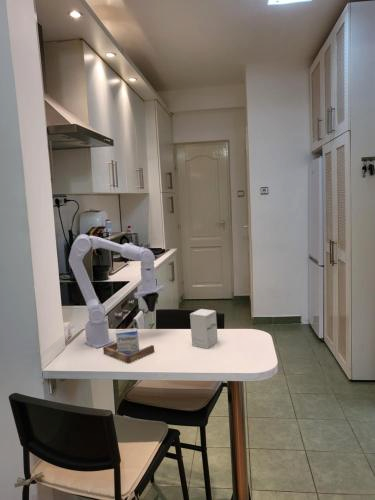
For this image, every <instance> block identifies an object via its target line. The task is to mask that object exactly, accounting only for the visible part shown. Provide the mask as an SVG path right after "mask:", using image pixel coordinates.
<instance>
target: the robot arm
mask: <svg viewBox="0 0 375 500" xmlns="http://www.w3.org/2000/svg"><path fill="white" fill-rule="evenodd" d="M90 249H92V250H97V249H105V250H108V251H113V252H116V253H120V254H119V255H120V256H121V257H122V258H125V259H129V260H131V261H135V262H140V277H141V279H140V280H141V287H142V288H141V290H139V291H135V292H133V297H134V299H139V298H142V299H143V301H144V303H145V305H146V307H147V310H148V312H151V313H152V312H155V307H156V303H157V300H158V297H160V296H159V293H158V292H160V291H161V292H162V291H163V292H164V291H165V285H157V279H156V267H155V259H156V256H155V254H154V252H153V250H151V249H149V248H147V247H144V246H137V245H134V244H133V242H131V241H130V242H129V243H127V242H125V243H122V244H120V243H117V242H114V241H112V240H108V239H106V238H102V237H99V236H95V235H88V234H86V233H84V234H83V233H82V234H79V235H78V236H77V237H76V238H75V240H74V241H73V243H72V245H71V249H70V253H69V256H68V263H69V265H70V268H71V269H72V272H73V275H74V277H75V280H76V282H77V285H78V287H79V289H80V292H81V294H82V296H83V297H82V298H83V299H84V301H85V304H86V307H87V310H88V321H87V322H86V324H85V326H84V328H85V329H84V330H85V338H86V341H84V344H85V345H88V346H92V347H94V348H96V349H98V348H99V349H100V348H101V347H102V348H103V347H105V346H108V345H111V344H113V343H115V341H114V340H113V339H110V334H109V324H108V318H107V317H106V308H105V306H104V305H103V303H101V301H100V299H99V297H98V296H97V294H96V292H95V289H94V286H93V285H92V282H91V280H90V277H89V275H88V272H87V270H86V267H85V266H84V263H83V259H84V258H85V255H86V254H87V253H88V252H89V251H90Z"/></svg>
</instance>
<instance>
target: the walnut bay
mask: <svg viewBox="0 0 375 500" xmlns="http://www.w3.org/2000/svg"><path fill="white" fill-rule="evenodd" d="M117 349H118V348H117V341H116V342H112V343H110V344H107V345H104V346H102V350H103V354H104V355H105V356H109V357H112V358H113V357H114V358H113V359H116V360H118V359H120V360H119V361H121V360H122V361H121V362H123V361H125V362H124V363H126V362H127V364H128V363H129V364H131V363H133V362H135V360H136V361H138V360H140V359H143V358H144V357H147V356H149V355H151V354H154V353H155V345H153V344H151V345H148V346H146V347H144V348H141V349H139V351H137V352H134V353H132V354H129V355H127V354H124V353H121V352H119V351H118V350H117ZM153 352H154V353H153ZM137 359H138V360H137ZM132 361H133V362H132ZM130 362H131V363H130Z"/></svg>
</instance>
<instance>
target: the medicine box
mask: <svg viewBox="0 0 375 500" xmlns="http://www.w3.org/2000/svg"><path fill="white" fill-rule="evenodd" d="M115 337H116V342H117V348H118V350H117V351H119V352H121V353H124V354H127V355H128V354H132V353H134V352H137V351H139V350H140V343H139V333H138V328H137V327H134V328H125V329H117V330H116V331H115Z"/></svg>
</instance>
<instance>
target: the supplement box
mask: <svg viewBox="0 0 375 500" xmlns="http://www.w3.org/2000/svg"><path fill="white" fill-rule="evenodd" d="M189 319H190V322H189V323H190V332H191V333H190V336H191V345H192V346H194V347H198V348H203V349H209V348H210V347H211V346H213V345H215V344H217V343H218V342H219V341H218V338H219V337H218V325H217V324H218V323H217V311H216V310H213V309H205V308H199V309H198V310H195V311H193V312H191V313H189Z"/></svg>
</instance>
